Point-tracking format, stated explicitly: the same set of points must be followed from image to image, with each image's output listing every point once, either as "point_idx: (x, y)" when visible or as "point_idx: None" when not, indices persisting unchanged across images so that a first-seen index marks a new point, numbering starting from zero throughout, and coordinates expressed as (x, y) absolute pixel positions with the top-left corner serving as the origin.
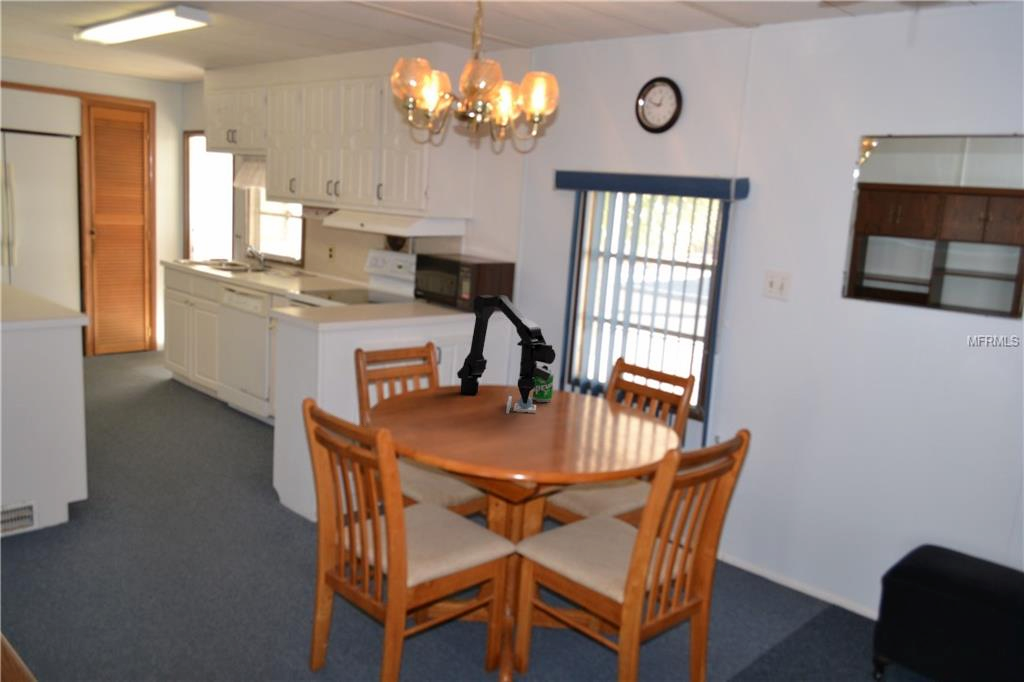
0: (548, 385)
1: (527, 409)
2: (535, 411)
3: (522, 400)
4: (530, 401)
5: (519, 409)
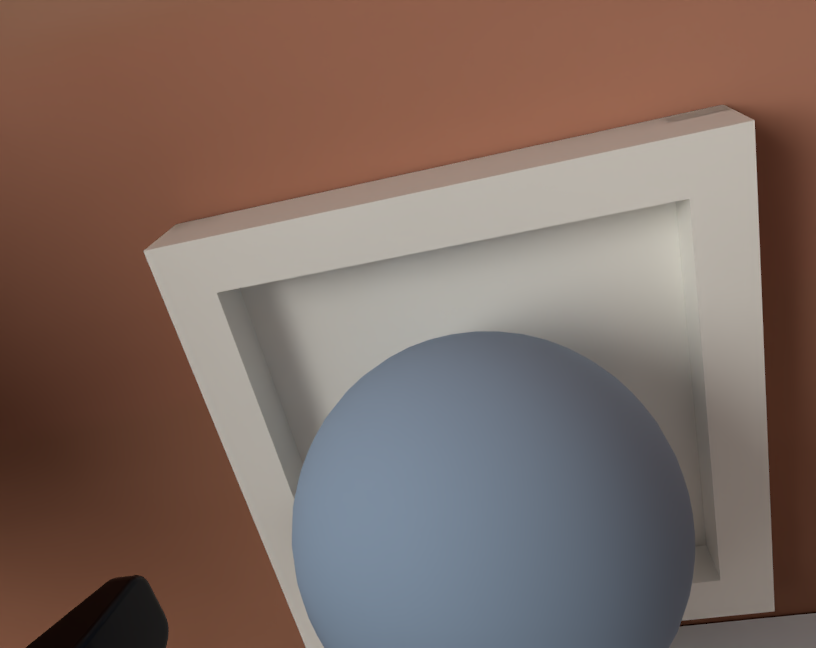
0: None
1: (756, 345)
2: (738, 119)
3: (674, 635)
4: (597, 421)
5: (763, 503)
